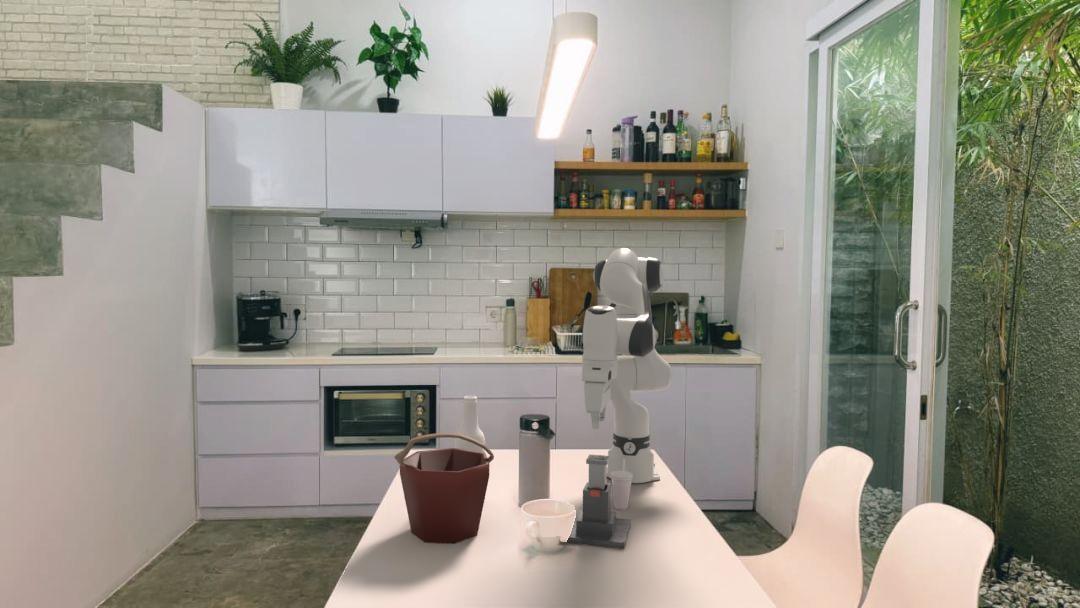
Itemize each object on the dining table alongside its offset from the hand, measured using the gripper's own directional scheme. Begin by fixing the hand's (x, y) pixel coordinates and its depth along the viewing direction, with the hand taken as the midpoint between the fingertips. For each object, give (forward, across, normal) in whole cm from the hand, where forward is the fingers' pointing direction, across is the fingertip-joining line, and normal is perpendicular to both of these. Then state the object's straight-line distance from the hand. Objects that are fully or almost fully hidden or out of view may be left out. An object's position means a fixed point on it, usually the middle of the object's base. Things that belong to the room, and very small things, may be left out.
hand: (598, 424), depth 174 cm
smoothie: (+28, -21, +4) cm, 36 cm away
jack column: (+27, 0, 0) cm, 27 cm away
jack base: (+28, 0, 0) cm, 28 cm away
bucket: (+28, +8, -38) cm, 48 cm away
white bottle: (+28, -17, -40) cm, 52 cm away
